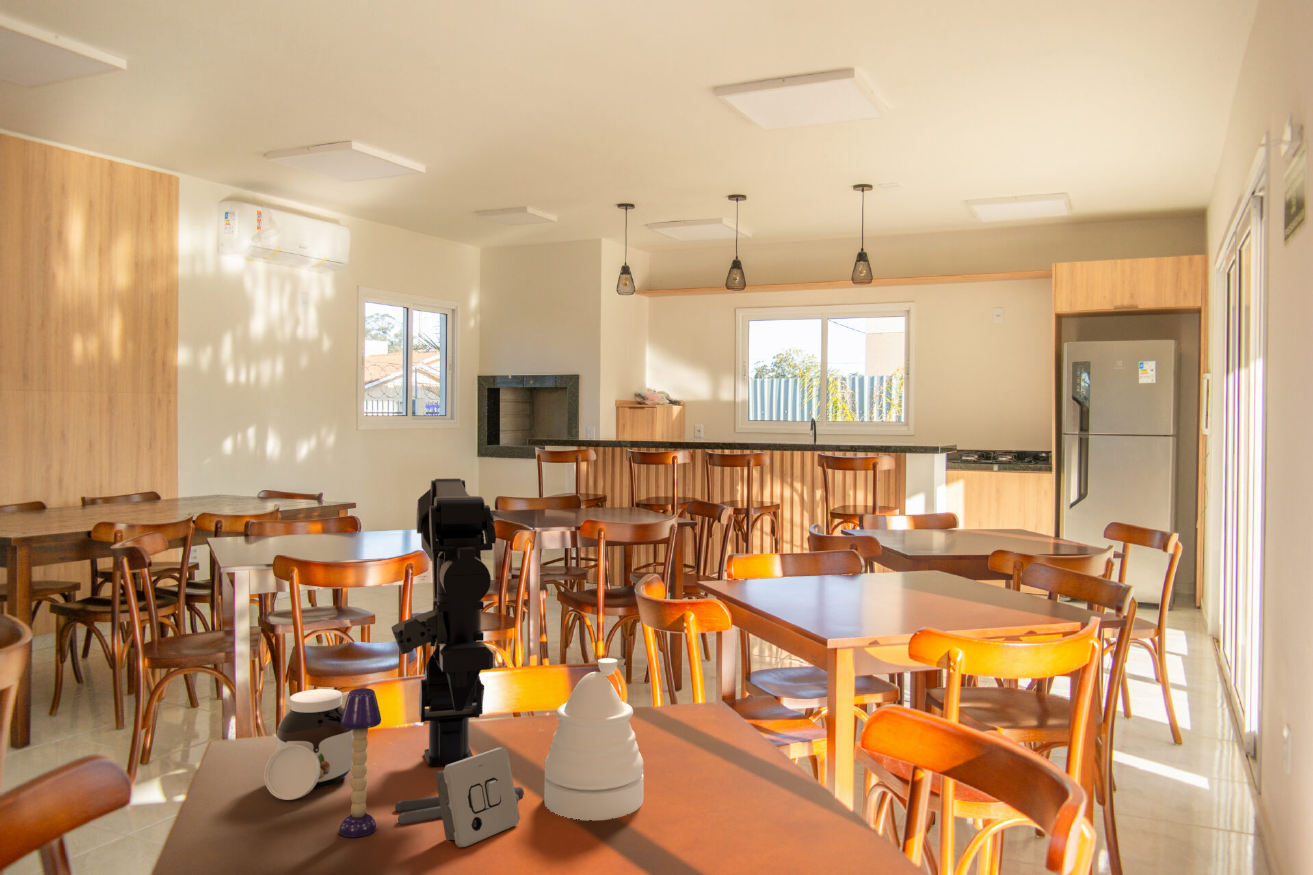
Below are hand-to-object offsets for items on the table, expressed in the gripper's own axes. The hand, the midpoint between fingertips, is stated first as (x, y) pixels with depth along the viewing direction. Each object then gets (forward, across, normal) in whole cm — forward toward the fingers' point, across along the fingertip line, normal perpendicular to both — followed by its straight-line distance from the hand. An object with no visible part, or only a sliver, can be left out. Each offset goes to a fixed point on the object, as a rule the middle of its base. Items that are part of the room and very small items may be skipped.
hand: (458, 710), depth 124 cm
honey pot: (+11, +7, +16) cm, 21 cm away
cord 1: (+11, +3, 0) cm, 12 cm away
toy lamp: (+11, +7, -12) cm, 18 cm away
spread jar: (+11, -10, -18) cm, 24 cm away
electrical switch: (+12, +12, 0) cm, 17 cm away
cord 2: (+11, +6, 0) cm, 13 cm away
